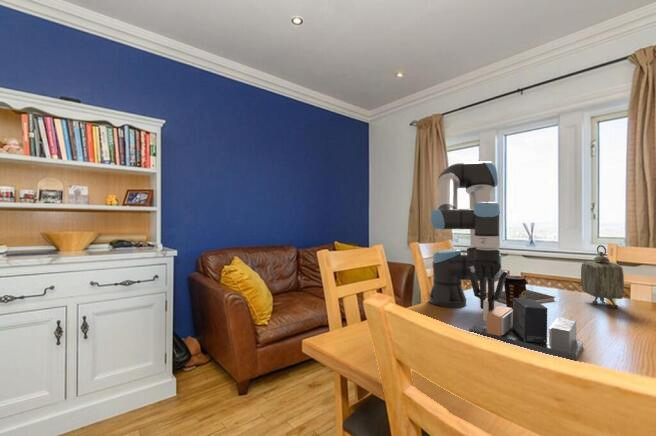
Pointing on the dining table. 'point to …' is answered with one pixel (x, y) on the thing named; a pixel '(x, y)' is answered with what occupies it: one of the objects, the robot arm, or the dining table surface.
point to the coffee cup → (514, 289)
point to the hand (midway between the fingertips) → (487, 319)
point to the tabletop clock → (602, 278)
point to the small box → (530, 320)
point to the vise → (558, 339)
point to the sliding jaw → (499, 320)
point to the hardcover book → (530, 296)
